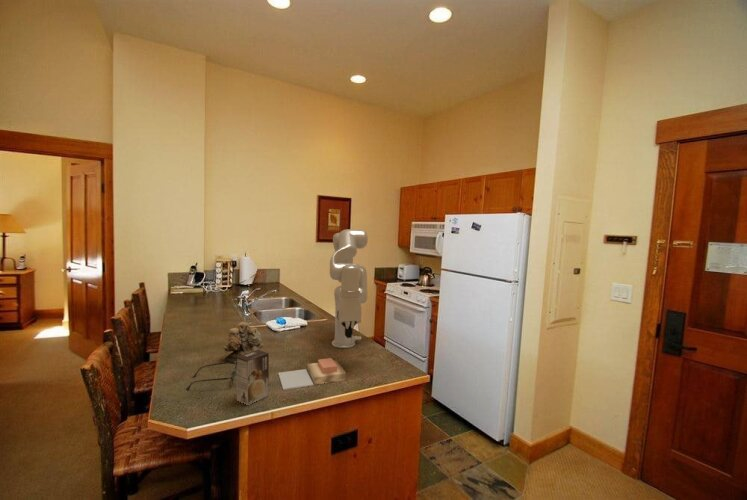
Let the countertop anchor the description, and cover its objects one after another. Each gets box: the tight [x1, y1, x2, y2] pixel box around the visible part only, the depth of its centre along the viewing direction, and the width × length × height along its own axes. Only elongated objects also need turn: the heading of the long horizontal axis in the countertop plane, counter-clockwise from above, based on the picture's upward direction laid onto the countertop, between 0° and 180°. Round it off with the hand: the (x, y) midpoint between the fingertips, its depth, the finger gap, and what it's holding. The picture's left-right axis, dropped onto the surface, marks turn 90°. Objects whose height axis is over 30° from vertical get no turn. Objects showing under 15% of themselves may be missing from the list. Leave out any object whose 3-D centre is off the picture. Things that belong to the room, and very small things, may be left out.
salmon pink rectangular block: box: [317, 357, 337, 374], centre depth 141 cm, size 6×9×2 cm, turn 23°
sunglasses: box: [186, 361, 237, 391], centre depth 133 cm, size 16×17×5 cm
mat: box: [278, 368, 315, 391], centre depth 136 cm, size 12×15×1 cm
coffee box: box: [236, 349, 270, 406], centre depth 120 cm, size 9×6×16 cm
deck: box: [306, 360, 347, 386], centre depth 141 cm, size 13×14×3 cm
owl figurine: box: [222, 321, 265, 365], centre depth 156 cm, size 18×12×17 cm, turn 129°
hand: (348, 337), depth 143 cm, fingers closed
